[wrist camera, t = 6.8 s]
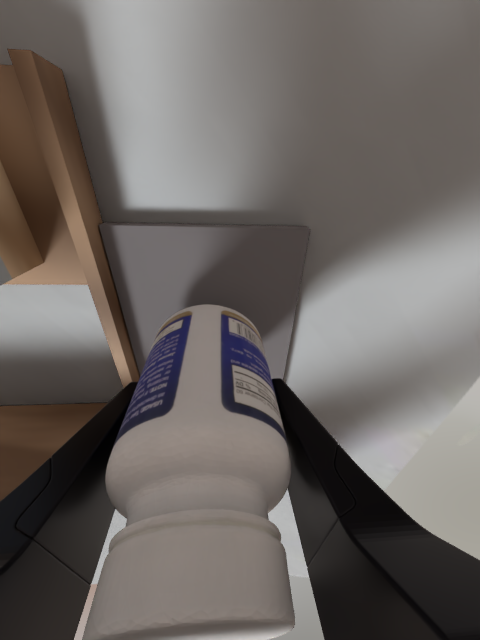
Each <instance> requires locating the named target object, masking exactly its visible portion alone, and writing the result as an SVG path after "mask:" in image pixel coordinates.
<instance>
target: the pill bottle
mask: <svg viewBox="0 0 480 640" xmlns="http://www.w3.org/2000/svg"><path fill="white" fill-rule="evenodd" d="M290 477H291V461H290V455H289V450H288V445H287V440H286V436H285V431H284V428H283V424H282V420H281V416H280V412H279V407H278V403H277V400H276V395H275V391H274V387H273V383H272V379H271V375H270V371H269V367H268V363H267V359H266V355H265V351H264V347H263V344H262V340H261V337H260V335H259V332H258V330H257V329H256V327H255V326H254V325H253V323H252V322H251V321H250V320H249V319H248V318H247V317H245V316H244V315H242V314H241V313H239V312H237V311H235V310H233V309H230V308H227V307H223V306H219V305H209V304H204V305H196V306H191V307H188V308H185V309H183V310H181V311H179V312H177V313H175V314H174V315H172V316H171V317H170V318H168V319H167V320H166V321H165V322H164V324H163V325H162V326H161V328H160V329H159V331H158V333H157V335H156V338H155V340H154V342H153V345H152V347H151V350H150V353H149V355H148V358H147V361H146V363H145V366H144V368H143V371H142V374H141V376H140V379H139V381H138V384H137V386H136V389H135V391H134V394H133V397H132V399H131V402H130V404H129V407H128V409H127V412H126V415H125V417H124V420H123V422H122V425H121V428H120V430H119V433H118V435H117V438H116V440H115V443H114V446H113V449H112V452H111V455H110V458H109V461H108V464H107V469H106V477H105V483H106V490H107V494H108V496H109V498H110V501H111V503H112V504H113V506H114V507H115V509H116V510H117V511H118V512H119V513H120V514H121V515H123V516H124V517H125V518H127V523H126V527H125V528H124V529H122V530H121V531H119V532H118V533H117V534H116V535H115V536H114V537H113V538H112V540H111V542H110V545H109V554H108V555H107V557H106V559H105V561H104V565H103V568H102V571H101V575H100V578H99V581H98V585H97V589H96V592H95V595H94V599H93V602H92V606H91V610H90V613H89V617H88V620H87V624H86V627H85V631H84V635H83V639H82V640H268V639H271V638H275V637H278V636H280V635H283V634H285V633H287V632H289V631H291V630H292V629H293V628H294V625H295V616H294V609H293V602H292V596H291V589H290V582H289V575H288V568H287V559H286V552H285V549H284V547H283V544H282V543H281V542H280V541H281V534H280V532H279V530H278V528H277V527H276V526H275V524H273V523H272V522H270V521H269V519H268V513H269V512H270V511H271V510H272V509H273V508H274V507H275V506H277V504H278V503H279V502H280V501H281V499H282V498H283V496H284V494H285V492H286V490H287V488H288V485H289V481H290Z"/></svg>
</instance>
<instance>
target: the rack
mask: <svg viewBox="0 0 480 640" xmlns="http://www.w3.org/2000/svg"><path fill="white" fill-rule="evenodd" d="M8 52H9V55H10V58H11V61H12V64H13V65H0V161H1V163H2V166H3V168H4V170H5V173H6V175H7V177H8V180H9V182H10V184H11V187H12V189H13V191H14V194H15V196H16V198H17V201H18V203H19V205H20V208H21V210H22V212H23V215H24V217H25V219H26V222H27V224H28V226H29V229H30V231H31V233H32V236H33V238H34V240H35V243H36V245H37V247H38V250H39V252H40V255H41V257H42V259H43V262H44V263H43V264H41V265H39V266H37V267H35V268H33V269H31V270H29V271H27V272H25V273H23V274H21V275H20V276H18V277H16V278H14V279H12V280H10V281H8V282H6V283H4V284H74V285H88V286H89V289H90V292H91V295H92V298H93V301H94V304H95V307H96V309H97V312H98V315H99V318H100V321H101V324H102V327H103V330H104V333H105V336H106V339H107V342H108V345H109V347H110V350H111V353H112V356H113V359H114V362H115V365H116V368H117V371H118V374H119V377H120V380H121V383H122V385H123V388H125V387H126V386H127V385H128V384H129V383H130V382H138V381H139V379H140V373H139V370H138V366H137V362H136V359H135V355H134V352H133V348H132V344H131V341H130V337H129V333H128V330H127V326H126V322H125V319H124V315H123V312H122V308H121V304H120V301H119V297H118V293H117V290H116V286H115V283H114V279H113V275H112V272H111V268H110V264H109V261H108V257H107V253H106V250H105V246H104V243H103V239H102V235H101V232H100V228H99V225H100V224H102V219H101V215H100V211H99V208H98V204H97V200H96V196H95V192H94V189H93V185H92V181H91V177H90V174H89V170H88V166H87V162H86V159H85V155H84V151H83V147H82V144H81V140H80V136H79V132H78V128H77V125H76V121H75V117H74V113H73V110H72V106H71V102H70V98H69V95H68V91H67V87H66V83H65V79H64V76H63V72H62V70H61V69H60V68H58V67H56V66H55V65H53V64H52V63H50V62H48V61H47V60H45V59H44V58H42V57H40V56H39V55H37V54H36V53H34V52H32V51H31V50H18V49H8ZM106 404H107V403H86V404H53V405H20V406H0V501H1V500H2V499H3V498H4V497H6V496H7V495H8V494H9V493H10V492H12V491H13V490H14V489H15V488H16V487H17V486H19V485H20V484H21V483H22V482H23V481H24V480H25V479H27V478H28V477H29V476H30V475H31V474H32V473H33V472H34V471H35V470H37V469H38V468H39V467H40V466H41V465H42V464H43V463H44V462H45V461H46V460H47V459H48V458H51V456H52V455H53V454H54V453H55V452H56V451H57V450H58V449H59V448H60V447H61V446H62V445H63V444H65V443H66V442H67V441H68V440H69V439H70V438H71V437H72V436H73V435H74V434H75V433H76V432H77V431H78V430H80V429H81V428H82V427H83V426H84V425H85V424H86V423H87V422H88V421H89V420H90V419H91V418H92V417H93V416H95V415H96V414H97V413H98V412H99V411H100V410H101V409H102V408H103V407H104V406H105V405H106Z"/></svg>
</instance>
